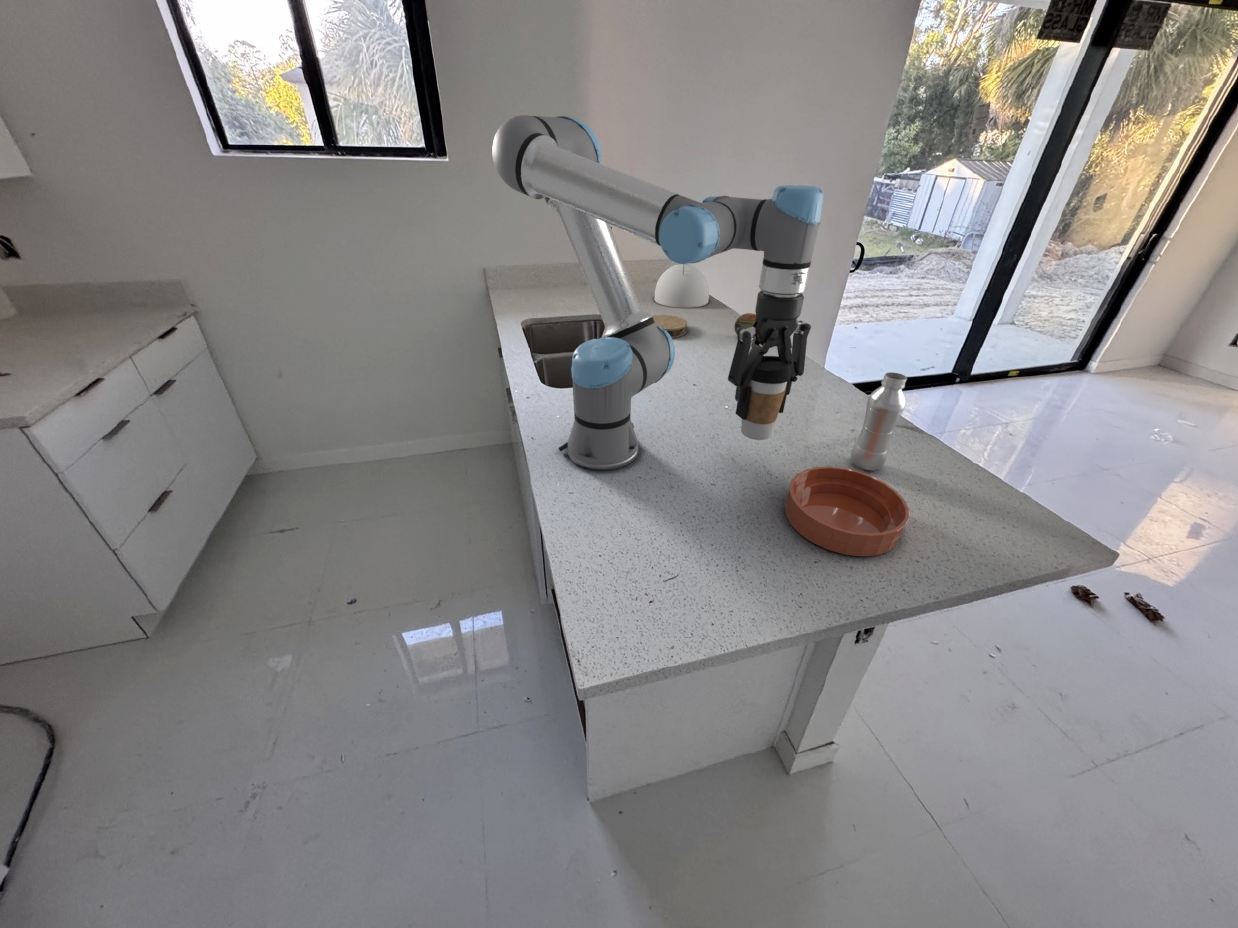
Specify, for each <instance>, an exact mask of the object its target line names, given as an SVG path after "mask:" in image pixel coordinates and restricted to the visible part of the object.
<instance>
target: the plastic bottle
mask: <svg viewBox="0 0 1238 928" xmlns="http://www.w3.org/2000/svg"><path fill="white" fill-rule="evenodd" d="M907 380H908V378H907V376H906V375H904V374H903V373H899V372H893V371H892V372H886V373H885V374H884V375H883V379H882V380H881V382H880V383H881V386H879V387H877V388H875V390H874V391H872V392H871V393H870V394H869V396H868V397H867V400H866V401H867V402H866V408H865V415H864V419H863V423H862V427H861V430H860V433H859V435H858V437H857V440H855V441H856V442H855V443H854V444H853V447H852V449H851V451H850V460H851V462H852V463H853V464H854V466H856V467H857V468H860V469H861V470H862V469H863V470H866V471H878V470H879V469H881V468H883V467H884V465H885V464H886V462H887V459H888V454H889V447H890V443H891V438H892V435H893V433H894V430H895V428H896V425H897V423H898V421H899V419H900V417H901V416H902V414H903V412H904V410H905V409H906V406H907V405H906V404H907V403H906V402H907V401H906V397H905V394H904V392H903V389H905V387H906V382H907Z"/></svg>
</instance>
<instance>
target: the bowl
mask: <svg viewBox="0 0 1238 928" xmlns="http://www.w3.org/2000/svg"><path fill="white" fill-rule="evenodd" d="M784 512H785V516H786V518H787V519H788V522H789V524H790V525H791V526H792V527H793V528H794V530H795V531H797V532H798V534H800V535H801V536H802V537H803V538H805V539H807V540H808V541H810V542H811V543H813V544H815V545H816V546H819V547H821V548H823V549H825V550H828V551H831V552H835V553H838V554H841V555H846V556H854V557H874V556H879V555H882V554H885V553H888V552H890V551H892V549H894V548H895V547H897V545H898V544H899V542H900V540H901V537H902V536H903V534H904V531H905V530H906V529H905V528H906V526H907V525H908V523H909V521H910V508H909V506H908V503H907V502H906V500H905V498H904V497H903V496H902V495H901V494H900V493H899V492H898V491H897V490H896V489H894V488H893V487H892V486H890V485H889V484H888V483H886V482H885V481H883V480H881V479H879V478H876V477H875V476H873V475H869V474H867V473H864V472H862V471H859V470H855V469H851V468H846V467H840V466H839V467H838V466H816V467H810V468H807V469H804V470H802V471H800V472H798V473H797V474H796V475H795V476H794V477H793V478H792V479H791V481H790V483H789V487H788V491H787V495H786V500H785V502H784Z"/></svg>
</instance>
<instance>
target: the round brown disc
mask: <svg viewBox="0 0 1238 928" xmlns="http://www.w3.org/2000/svg"><path fill="white" fill-rule="evenodd" d="M652 316H653V319H654V322H655V324H656V326H660V327H662V329H663V330H666V331H667V332H668V333H669V335H670V336H671V338H672V339H673V338H678V337H681V336H684V335H685V334H686V333H687V330H688V329H687V328H688V321H687V320H686V319H684V318H683V317H680V316H677V315H670V314H669V315H668V314H655V315H652Z"/></svg>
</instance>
